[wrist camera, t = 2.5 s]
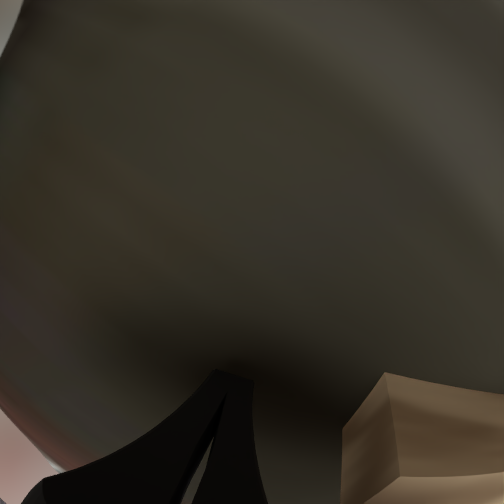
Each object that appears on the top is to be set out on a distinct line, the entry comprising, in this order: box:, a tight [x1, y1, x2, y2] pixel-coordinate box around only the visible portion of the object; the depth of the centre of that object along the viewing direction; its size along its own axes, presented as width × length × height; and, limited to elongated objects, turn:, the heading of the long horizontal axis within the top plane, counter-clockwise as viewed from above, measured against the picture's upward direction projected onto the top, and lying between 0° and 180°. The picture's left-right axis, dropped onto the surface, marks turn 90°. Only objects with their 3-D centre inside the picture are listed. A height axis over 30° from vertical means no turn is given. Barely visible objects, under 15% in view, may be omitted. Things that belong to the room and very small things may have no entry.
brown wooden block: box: [340, 372, 504, 504], centre depth 8 cm, size 4×10×4 cm, turn 75°
